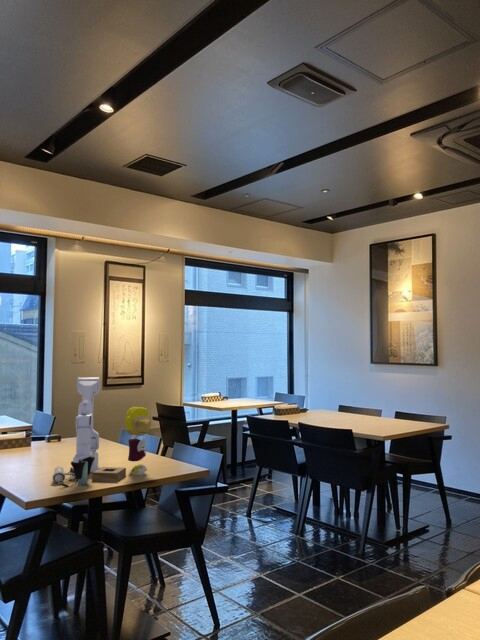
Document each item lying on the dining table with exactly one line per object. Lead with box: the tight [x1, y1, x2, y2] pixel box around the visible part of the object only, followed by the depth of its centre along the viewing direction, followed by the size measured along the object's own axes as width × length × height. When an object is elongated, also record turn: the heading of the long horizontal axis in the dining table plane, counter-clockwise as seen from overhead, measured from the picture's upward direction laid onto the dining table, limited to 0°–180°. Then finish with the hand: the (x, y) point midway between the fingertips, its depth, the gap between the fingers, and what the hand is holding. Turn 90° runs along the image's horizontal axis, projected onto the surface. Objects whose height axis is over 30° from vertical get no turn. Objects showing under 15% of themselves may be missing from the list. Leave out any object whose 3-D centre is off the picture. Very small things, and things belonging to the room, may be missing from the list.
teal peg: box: [77, 461, 89, 486], centre depth 210 cm, size 4×4×9 cm
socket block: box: [91, 466, 127, 482], centre depth 220 cm, size 11×11×4 cm
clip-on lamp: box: [52, 465, 78, 488], centre depth 213 cm, size 12×6×18 cm
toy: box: [124, 406, 152, 476], centre depth 234 cm, size 22×12×30 cm, turn 9°
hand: (82, 476), depth 210 cm, fingers open, 7 cm apart
